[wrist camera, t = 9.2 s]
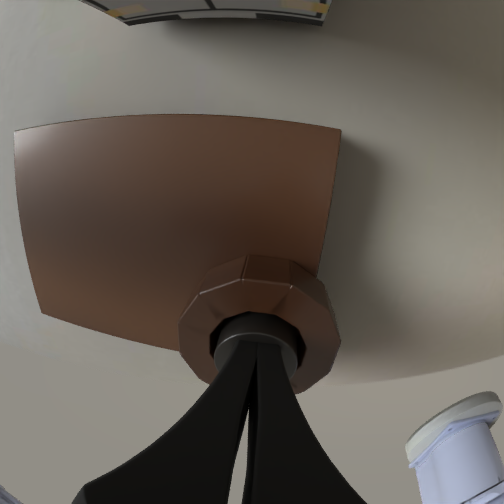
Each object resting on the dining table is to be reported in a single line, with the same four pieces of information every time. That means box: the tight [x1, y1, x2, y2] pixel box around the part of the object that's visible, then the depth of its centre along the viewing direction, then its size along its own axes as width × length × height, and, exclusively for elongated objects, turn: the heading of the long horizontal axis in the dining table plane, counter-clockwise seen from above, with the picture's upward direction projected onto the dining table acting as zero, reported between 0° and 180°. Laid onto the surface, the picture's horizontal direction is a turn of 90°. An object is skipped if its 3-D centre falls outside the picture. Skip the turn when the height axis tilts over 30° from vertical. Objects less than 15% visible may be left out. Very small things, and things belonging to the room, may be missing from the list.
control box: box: [14, 114, 341, 394], centre depth 11 cm, size 10×15×4 cm
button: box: [214, 311, 298, 380], centre depth 10 cm, size 3×3×2 cm
